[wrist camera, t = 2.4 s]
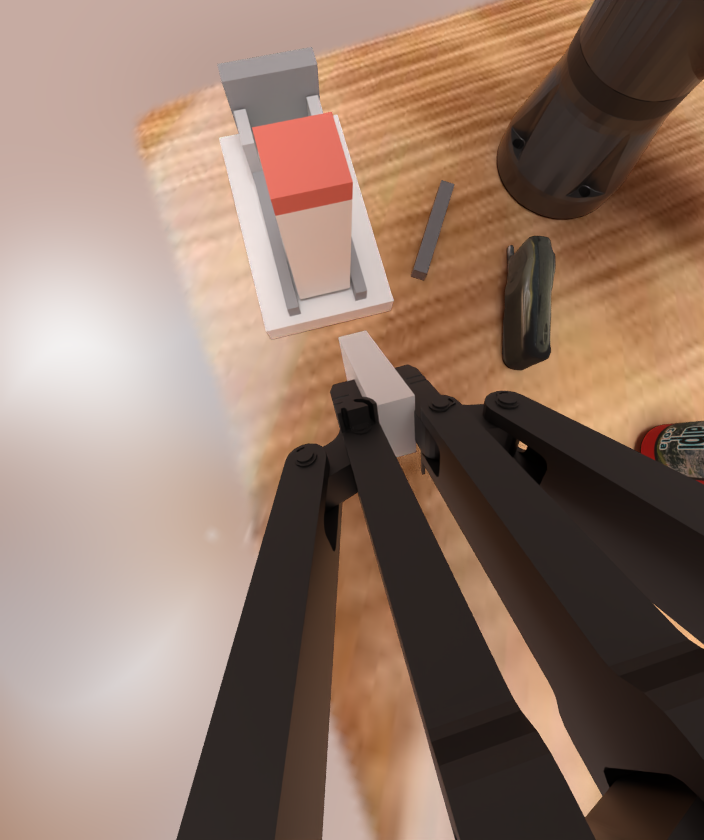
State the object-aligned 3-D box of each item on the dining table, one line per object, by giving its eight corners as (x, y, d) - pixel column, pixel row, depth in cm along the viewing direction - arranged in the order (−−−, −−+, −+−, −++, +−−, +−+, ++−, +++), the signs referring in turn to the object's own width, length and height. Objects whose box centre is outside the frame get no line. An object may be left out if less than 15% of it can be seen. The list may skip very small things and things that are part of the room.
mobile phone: (559, 358, 26) (558, 214, 27) (528, 356, 26) (528, 212, 27) (524, 372, 31) (525, 250, 32) (498, 370, 31) (500, 248, 32)
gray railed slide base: (390, 310, 31) (406, 261, 23) (271, 339, 30) (244, 299, 22) (337, 134, 33) (335, 35, 25) (226, 156, 33) (188, 62, 25)
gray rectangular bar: (436, 193, 33) (441, 180, 32) (449, 196, 33) (454, 184, 32) (410, 278, 32) (413, 269, 30) (422, 282, 32) (427, 273, 30)
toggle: (349, 287, 28) (352, 181, 17) (300, 299, 28) (270, 199, 17) (336, 242, 29) (331, 111, 18) (288, 253, 29) (251, 127, 17)
